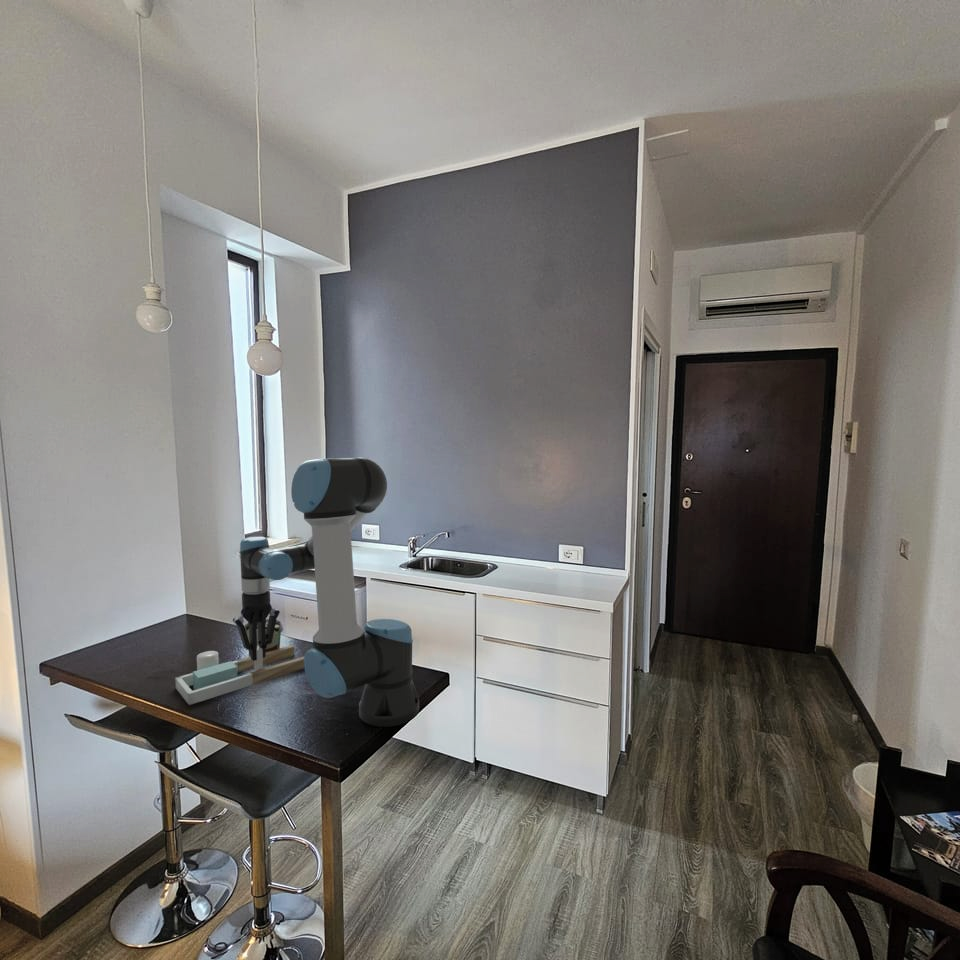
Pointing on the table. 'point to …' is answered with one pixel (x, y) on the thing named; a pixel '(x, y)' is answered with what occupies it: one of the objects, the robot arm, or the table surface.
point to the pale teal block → (226, 671)
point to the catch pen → (210, 687)
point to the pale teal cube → (204, 677)
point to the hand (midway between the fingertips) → (258, 669)
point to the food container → (276, 636)
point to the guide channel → (276, 669)
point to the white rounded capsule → (207, 659)
